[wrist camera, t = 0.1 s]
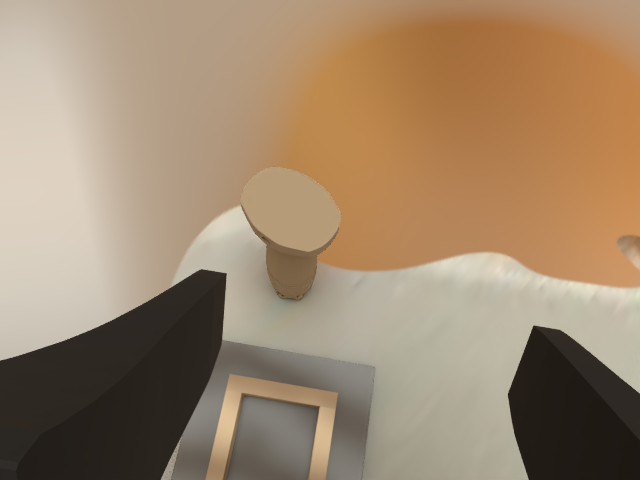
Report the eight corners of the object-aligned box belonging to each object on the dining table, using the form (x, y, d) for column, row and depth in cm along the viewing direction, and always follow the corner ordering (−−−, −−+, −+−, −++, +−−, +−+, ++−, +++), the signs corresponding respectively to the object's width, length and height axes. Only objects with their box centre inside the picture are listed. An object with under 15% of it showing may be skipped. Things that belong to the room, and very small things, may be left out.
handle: (303, 328, 45) (307, 266, 31) (246, 283, 46) (225, 205, 32) (337, 285, 46) (355, 209, 33) (281, 243, 48) (275, 153, 34)
